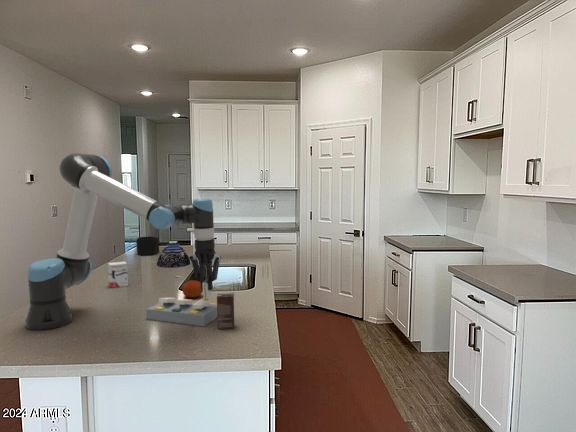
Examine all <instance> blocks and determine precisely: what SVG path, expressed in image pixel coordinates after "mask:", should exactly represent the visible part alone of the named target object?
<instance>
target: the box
mask: <svg viewBox="0 0 576 432" xmlns="http://www.w3.org/2000/svg"><path fill="white" fill-rule="evenodd" d="M234 295H235V293H233V292H232V293H217V295H216V304H217V315H218V317H217V329H218V330H222V329H228V330H229V329H235V296H234Z"/></svg>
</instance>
